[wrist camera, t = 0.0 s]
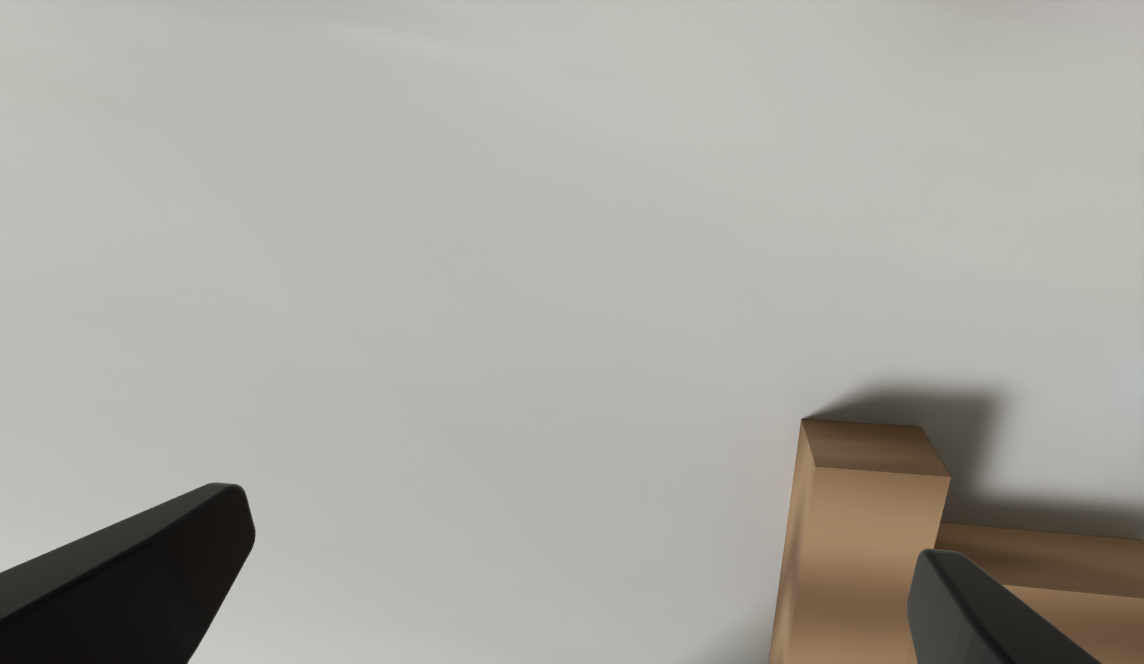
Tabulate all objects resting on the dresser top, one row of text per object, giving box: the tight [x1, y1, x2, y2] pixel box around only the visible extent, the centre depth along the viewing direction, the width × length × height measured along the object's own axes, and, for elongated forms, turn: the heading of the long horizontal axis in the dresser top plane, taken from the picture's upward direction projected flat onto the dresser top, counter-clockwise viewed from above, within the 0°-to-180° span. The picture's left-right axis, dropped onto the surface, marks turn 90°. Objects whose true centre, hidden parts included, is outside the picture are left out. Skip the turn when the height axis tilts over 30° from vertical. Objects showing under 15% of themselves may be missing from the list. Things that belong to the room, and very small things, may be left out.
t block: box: [769, 419, 1144, 664], centre depth 23 cm, size 12×12×3 cm
